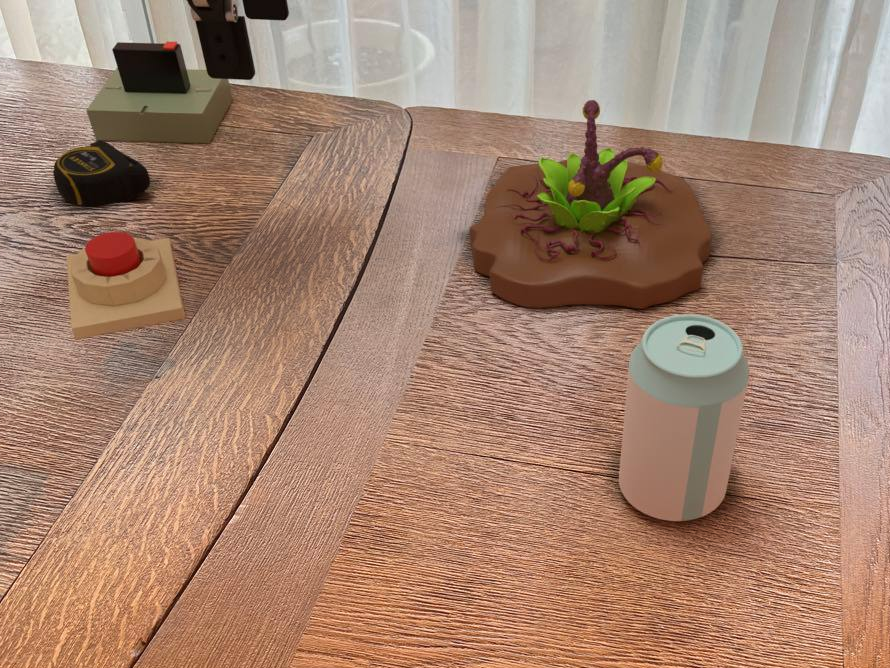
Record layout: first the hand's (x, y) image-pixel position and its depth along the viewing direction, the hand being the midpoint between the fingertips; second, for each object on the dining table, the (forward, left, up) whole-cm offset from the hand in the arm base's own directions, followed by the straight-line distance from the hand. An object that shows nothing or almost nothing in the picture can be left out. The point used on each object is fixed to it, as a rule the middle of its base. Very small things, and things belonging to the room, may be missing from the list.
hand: (250, 46), depth 74 cm
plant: (+25, +3, -17) cm, 30 cm away
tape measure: (-18, +8, -17) cm, 26 cm away
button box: (-11, -8, -17) cm, 22 cm away
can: (+31, -26, -17) cm, 44 cm away
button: (-11, -8, -13) cm, 19 cm away
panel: (-17, +22, -17) cm, 32 cm away
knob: (-17, +22, -14) cm, 31 cm away
